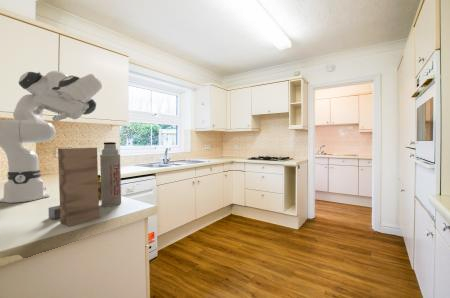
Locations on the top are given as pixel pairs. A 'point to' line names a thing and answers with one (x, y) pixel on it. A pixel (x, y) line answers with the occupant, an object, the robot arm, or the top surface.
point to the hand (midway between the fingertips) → (44, 116)
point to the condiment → (99, 187)
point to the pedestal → (78, 185)
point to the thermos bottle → (110, 175)
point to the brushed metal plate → (54, 213)
